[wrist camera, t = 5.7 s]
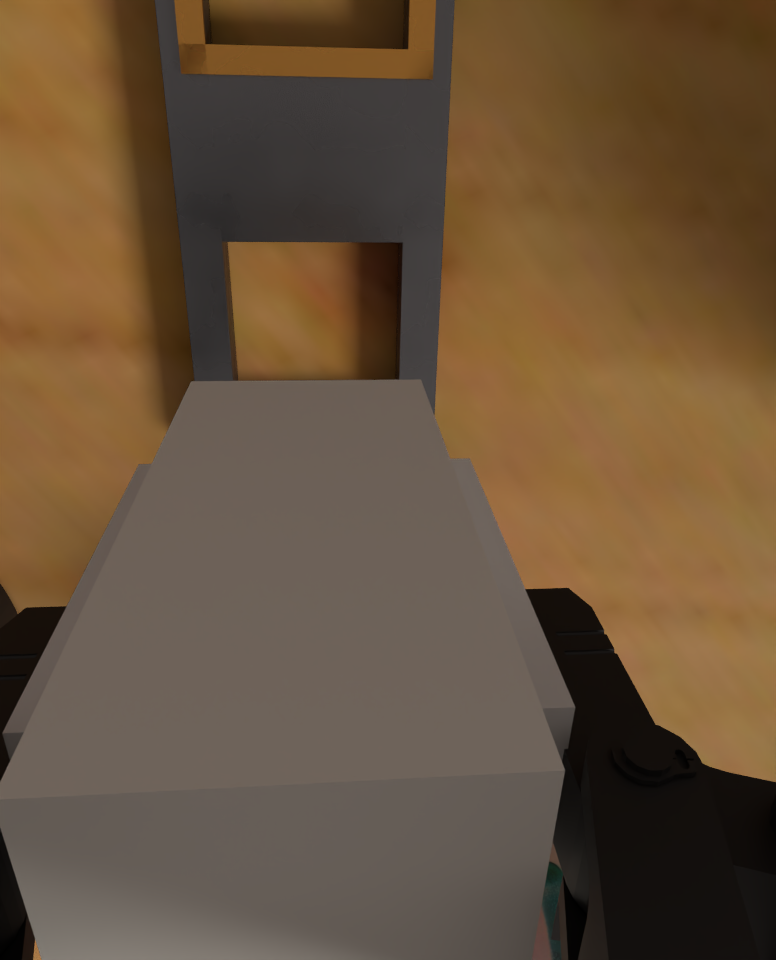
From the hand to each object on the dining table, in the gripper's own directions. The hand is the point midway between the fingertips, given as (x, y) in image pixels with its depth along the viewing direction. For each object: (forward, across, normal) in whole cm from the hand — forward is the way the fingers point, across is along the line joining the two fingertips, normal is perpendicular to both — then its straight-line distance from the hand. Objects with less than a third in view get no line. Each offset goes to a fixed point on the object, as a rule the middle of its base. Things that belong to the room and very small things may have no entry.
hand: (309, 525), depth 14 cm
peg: (+2, 0, 0) cm, 2 cm away
